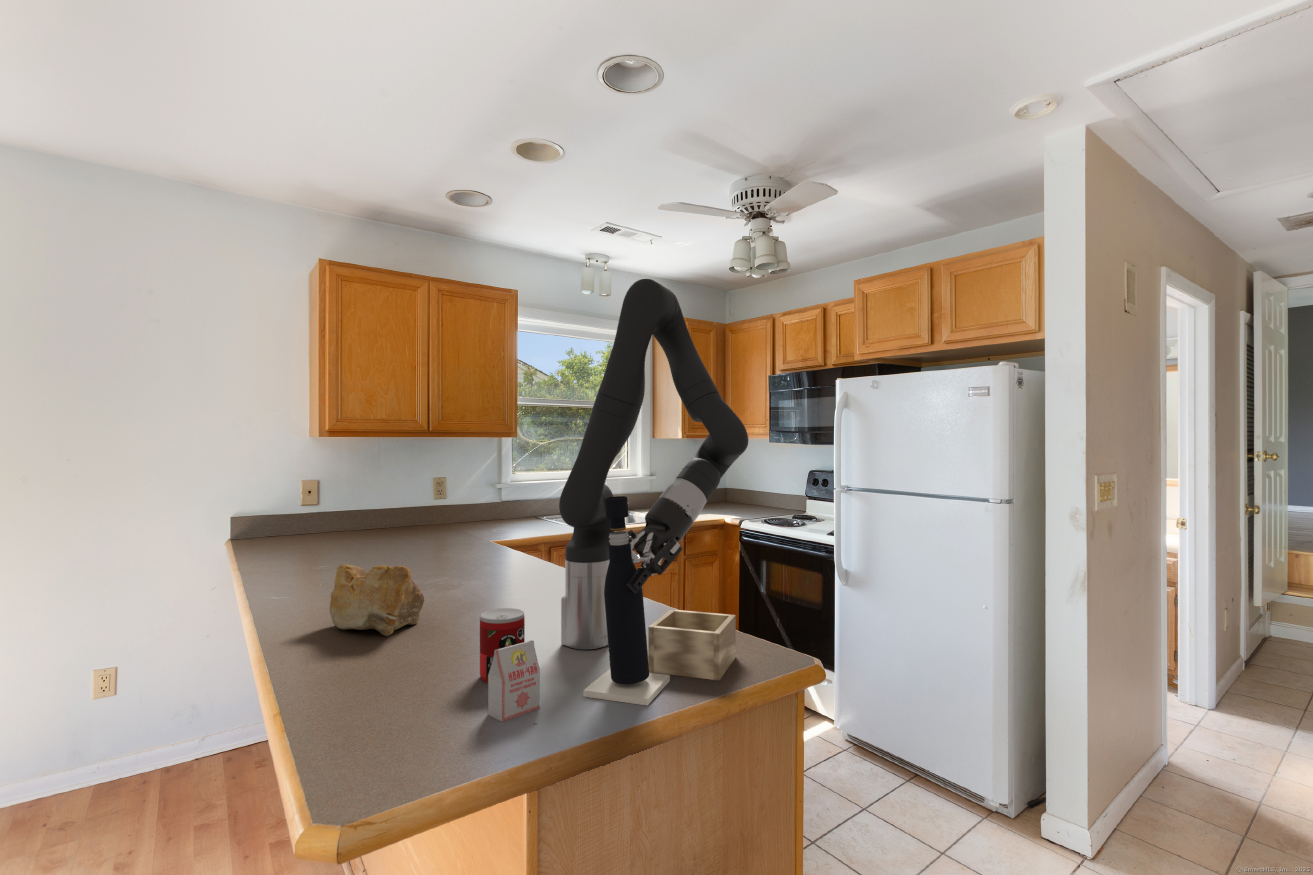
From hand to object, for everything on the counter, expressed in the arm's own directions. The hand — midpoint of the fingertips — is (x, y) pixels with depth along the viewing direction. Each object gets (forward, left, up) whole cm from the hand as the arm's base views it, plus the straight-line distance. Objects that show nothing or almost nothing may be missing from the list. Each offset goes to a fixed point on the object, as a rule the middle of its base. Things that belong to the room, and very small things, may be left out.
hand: (619, 586), depth 104 cm
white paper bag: (-12, -13, -17) cm, 25 cm away
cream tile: (+1, +1, -17) cm, 17 cm away
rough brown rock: (-64, +17, -17) cm, 69 cm away
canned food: (-22, -1, -17) cm, 28 cm away
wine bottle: (+1, +2, -15) cm, 16 cm away
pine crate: (+8, +16, -17) cm, 25 cm away
